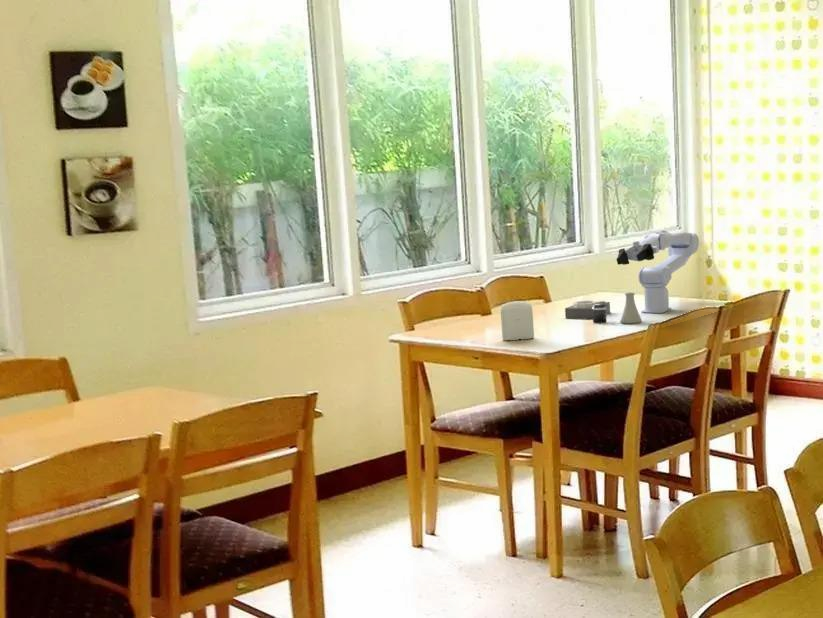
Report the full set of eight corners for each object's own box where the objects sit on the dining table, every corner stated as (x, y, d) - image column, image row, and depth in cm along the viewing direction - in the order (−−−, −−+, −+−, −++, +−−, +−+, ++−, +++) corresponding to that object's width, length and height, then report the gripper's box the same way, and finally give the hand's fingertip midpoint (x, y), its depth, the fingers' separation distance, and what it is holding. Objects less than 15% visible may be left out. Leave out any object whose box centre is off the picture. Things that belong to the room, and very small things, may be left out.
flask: (641, 323, 407) (640, 294, 405) (619, 324, 408) (618, 295, 407) (642, 320, 414) (640, 291, 412) (620, 321, 415) (619, 292, 414)
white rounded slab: (502, 341, 391) (500, 303, 389) (501, 339, 395) (499, 301, 393) (535, 339, 391) (532, 301, 389) (533, 337, 395) (531, 299, 393)
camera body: (581, 311, 441) (581, 298, 440) (610, 312, 435) (609, 298, 434) (565, 318, 429) (564, 304, 429) (594, 318, 423) (593, 304, 423)
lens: (596, 320, 419) (595, 303, 418) (608, 321, 417) (608, 303, 416) (590, 323, 415) (589, 305, 414) (603, 323, 413) (602, 305, 412)
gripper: (622, 241, 425) (606, 252, 415) (660, 234, 416) (644, 244, 406) (628, 260, 426) (611, 271, 416) (665, 253, 417) (649, 264, 407)
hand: (628, 259), depth 411 cm, fingers open, 7 cm apart
